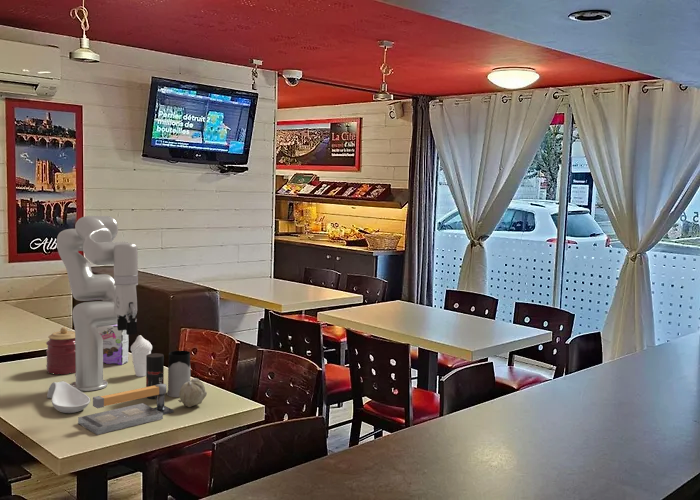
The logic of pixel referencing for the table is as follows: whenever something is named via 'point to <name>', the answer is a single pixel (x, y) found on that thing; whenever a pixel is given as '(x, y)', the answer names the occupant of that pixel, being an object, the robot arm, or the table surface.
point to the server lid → (119, 418)
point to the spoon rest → (67, 397)
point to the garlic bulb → (192, 392)
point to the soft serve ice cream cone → (140, 355)
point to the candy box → (114, 345)
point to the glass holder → (178, 371)
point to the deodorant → (154, 370)
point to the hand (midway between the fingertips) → (127, 332)
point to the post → (162, 405)
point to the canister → (61, 352)
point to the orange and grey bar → (128, 395)
